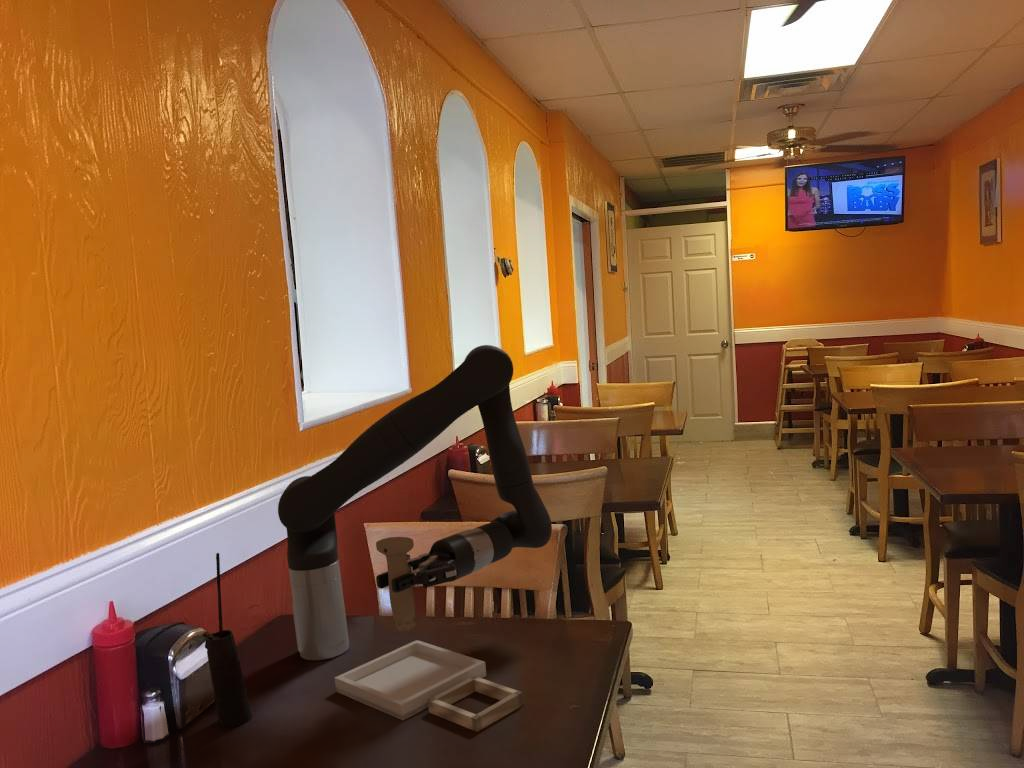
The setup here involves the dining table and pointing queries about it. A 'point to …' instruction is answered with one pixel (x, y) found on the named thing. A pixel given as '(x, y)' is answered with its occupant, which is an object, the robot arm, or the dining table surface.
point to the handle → (397, 567)
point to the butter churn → (226, 672)
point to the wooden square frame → (477, 722)
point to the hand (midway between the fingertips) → (385, 584)
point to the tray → (408, 678)
